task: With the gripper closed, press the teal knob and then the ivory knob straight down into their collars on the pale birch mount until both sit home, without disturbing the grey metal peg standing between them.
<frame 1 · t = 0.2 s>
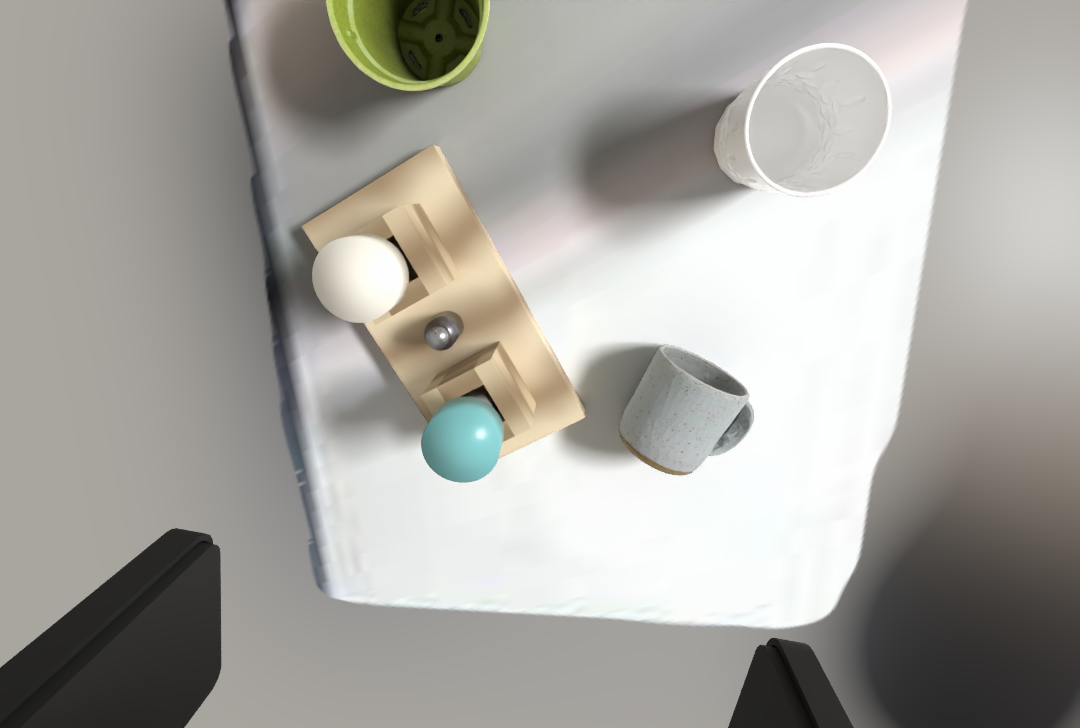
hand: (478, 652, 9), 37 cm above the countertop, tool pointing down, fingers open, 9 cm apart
ceramic mug: (686, 396, 47), on the countertop
grey metal peg: (448, 325, 44), point 2 cm above the countertop, touching mount
teal knob: (471, 423, 38), point 9 cm above the countertop, slide at 0.0 cm
white cup: (758, 138, 40), on the countertop
ivory knob: (376, 271, 35), point 9 cm above the countertop, slide at 0.0 cm
mount: (454, 319, 46), on the countertop
plant pot: (442, 39, 39), on the countertop
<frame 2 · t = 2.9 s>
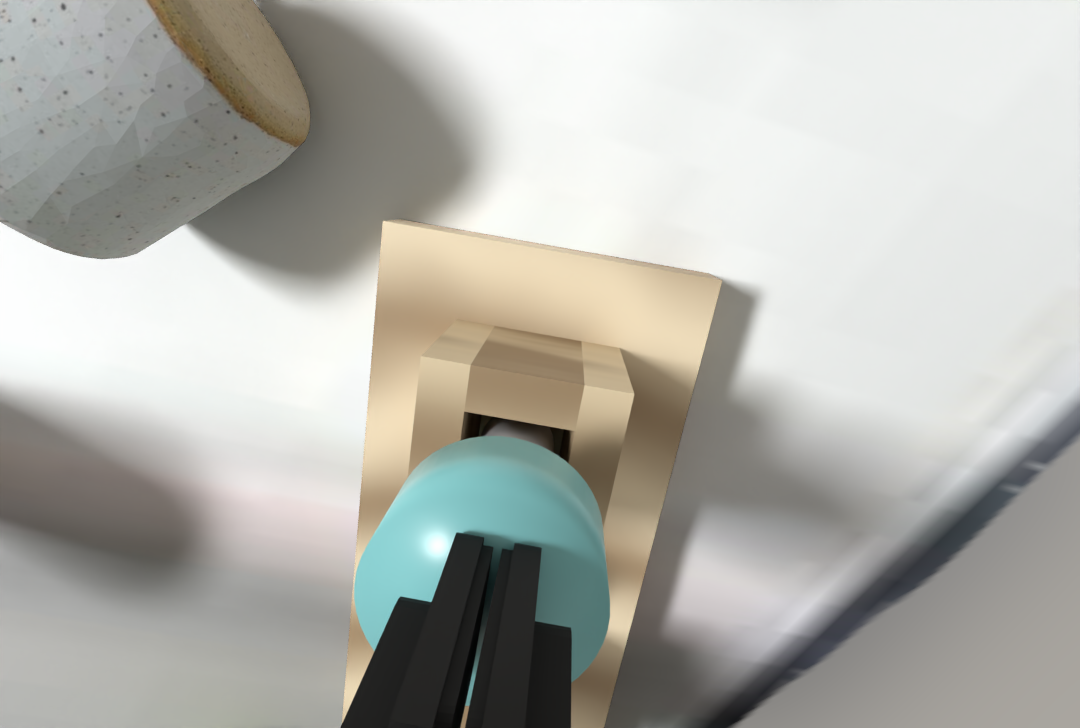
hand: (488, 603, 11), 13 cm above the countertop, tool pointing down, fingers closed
ceramic mug: (187, 81, 20), on the countertop
teal knob: (503, 504, 14), point 9 cm above the countertop, slide at 0.2 cm, touching gripper
mount: (507, 516, 24), on the countertop
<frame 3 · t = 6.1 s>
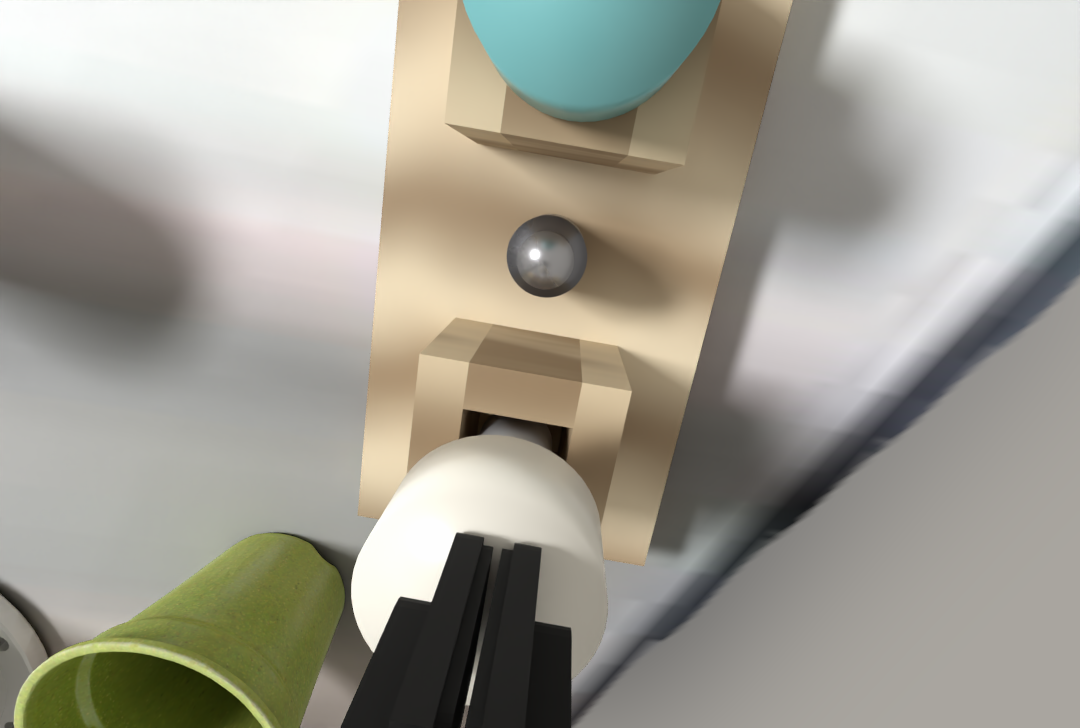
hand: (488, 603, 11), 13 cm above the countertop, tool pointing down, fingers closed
grey metal peg: (550, 249, 19), point 2 cm above the countertop, touching mount
teal knob: (586, 19, 14), point 6 cm above the countertop, slide at 3.0 cm
ivory knob: (501, 503, 14), point 9 cm above the countertop, slide at 0.1 cm, touching gripper
mount: (552, 244, 21), on the countertop
plant pot: (285, 582, 27), on the countertop
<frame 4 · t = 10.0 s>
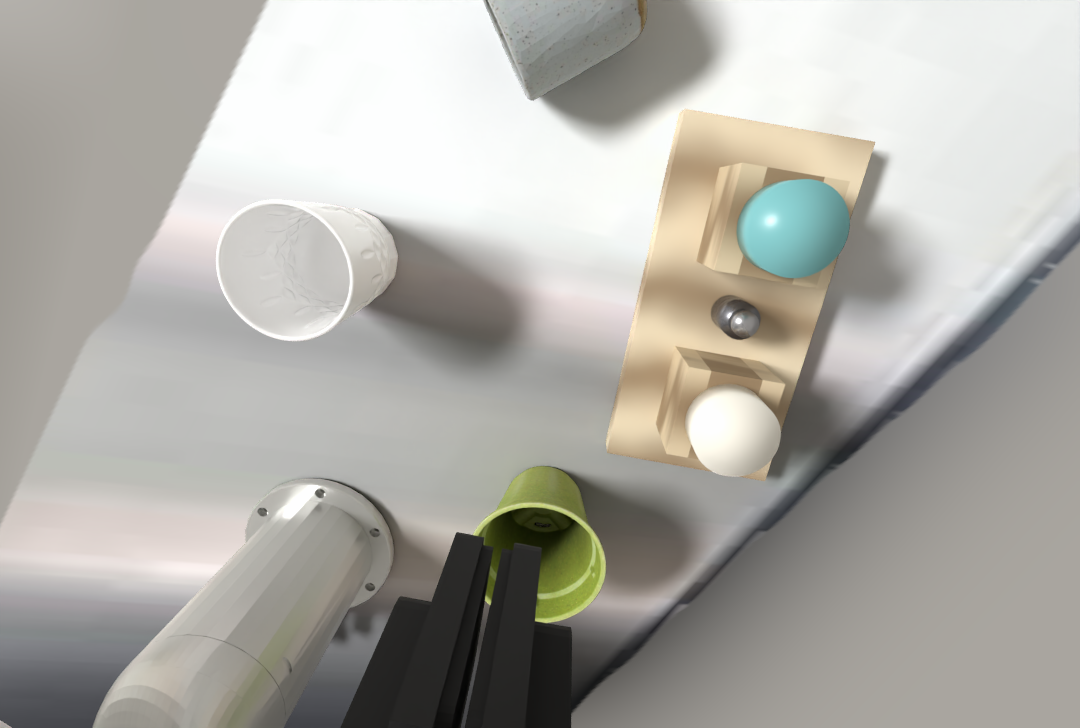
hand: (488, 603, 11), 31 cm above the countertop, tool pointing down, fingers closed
ceramic mug: (549, 6, 35), on the countertop
grey metal peg: (728, 312, 38), point 2 cm above the countertop, touching mount
teal knob: (774, 226, 32), point 6 cm above the countertop, slide at 3.0 cm
white cup: (354, 255, 40), on the countertop
ivory knob: (720, 414, 36), point 6 cm above the countertop, slide at 3.0 cm
mount: (721, 306, 40), on the countertop
plant pot: (543, 497, 45), on the countertop
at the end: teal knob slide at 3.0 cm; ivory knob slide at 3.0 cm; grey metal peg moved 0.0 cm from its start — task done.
